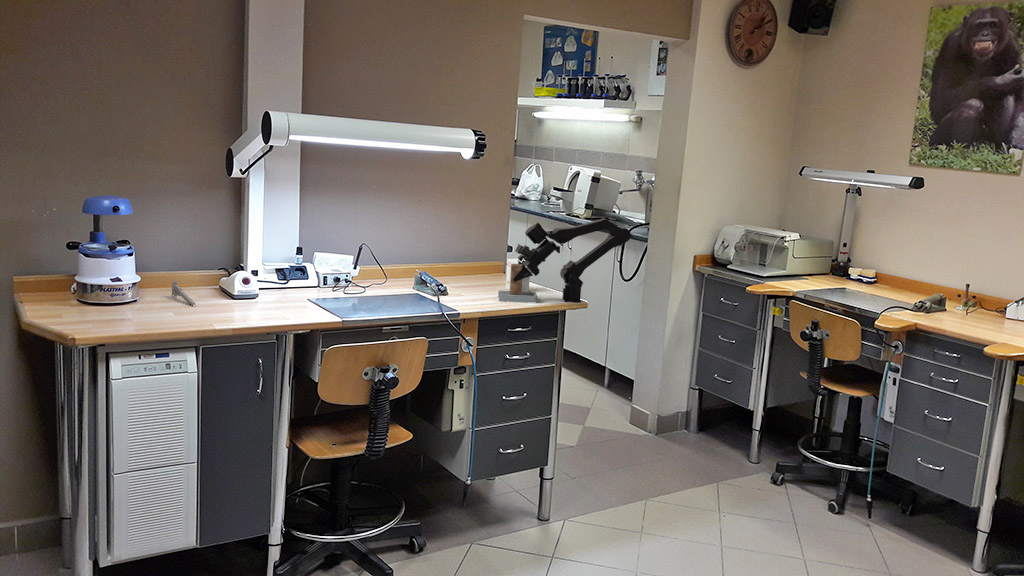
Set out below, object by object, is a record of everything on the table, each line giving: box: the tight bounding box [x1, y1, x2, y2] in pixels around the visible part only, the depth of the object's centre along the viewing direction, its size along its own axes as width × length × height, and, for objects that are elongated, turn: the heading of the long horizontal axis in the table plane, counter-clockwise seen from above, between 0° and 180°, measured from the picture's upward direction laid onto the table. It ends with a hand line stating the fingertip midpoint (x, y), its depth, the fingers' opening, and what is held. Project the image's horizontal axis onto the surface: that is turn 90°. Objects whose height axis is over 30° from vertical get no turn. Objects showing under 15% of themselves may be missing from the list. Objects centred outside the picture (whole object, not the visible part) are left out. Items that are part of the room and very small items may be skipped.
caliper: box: [171, 279, 196, 306], centre depth 291 cm, size 20×1×6 cm, turn 42°
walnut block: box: [509, 264, 522, 295], centre depth 327 cm, size 4×4×13 cm
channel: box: [497, 289, 539, 303], centre depth 328 cm, size 15×10×2 cm, turn 93°
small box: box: [505, 257, 531, 292], centre depth 347 cm, size 8×6×13 cm
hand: (512, 279), depth 327 cm, fingers closed on walnut block, 5 cm apart
